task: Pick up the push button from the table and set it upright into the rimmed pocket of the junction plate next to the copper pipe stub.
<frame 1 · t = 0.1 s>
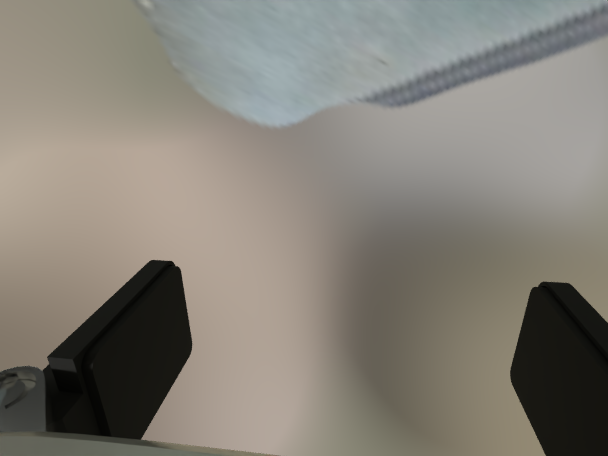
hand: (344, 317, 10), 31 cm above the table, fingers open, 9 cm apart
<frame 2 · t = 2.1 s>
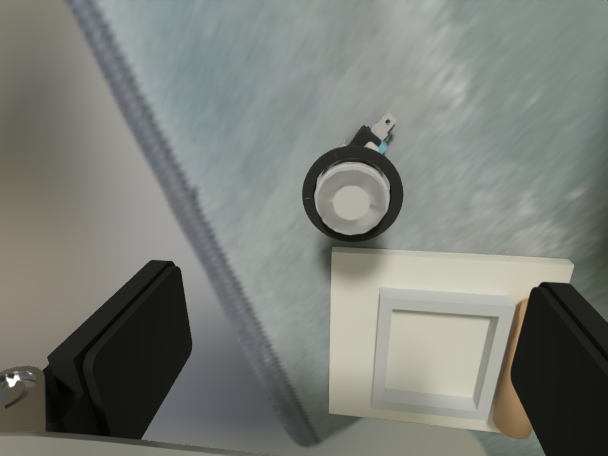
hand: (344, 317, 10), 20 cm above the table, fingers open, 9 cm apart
push button: (361, 150, 28), on the table
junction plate: (431, 342, 34), on the table
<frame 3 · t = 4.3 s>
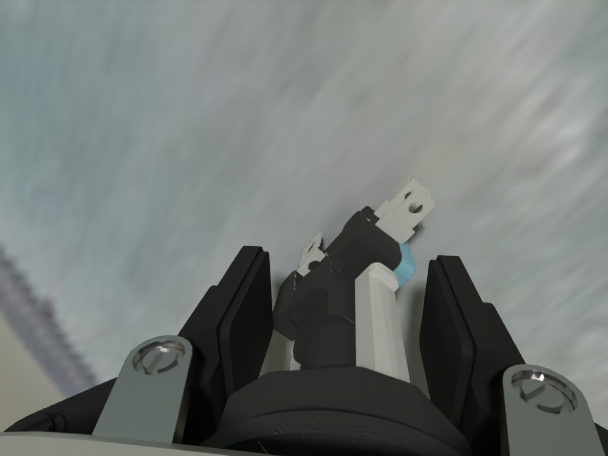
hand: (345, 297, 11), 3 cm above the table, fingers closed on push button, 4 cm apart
push button: (355, 247, 14), on the table, touching gripper
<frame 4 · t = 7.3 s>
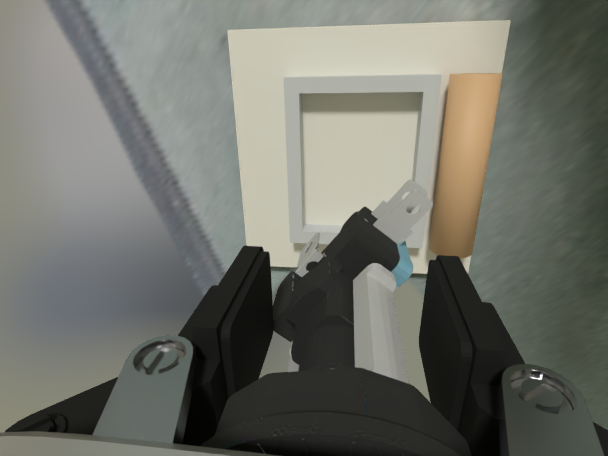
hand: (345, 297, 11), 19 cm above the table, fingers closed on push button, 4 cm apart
push button: (353, 247, 14), point 16 cm above the table, touching gripper
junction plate: (357, 159, 29), on the table
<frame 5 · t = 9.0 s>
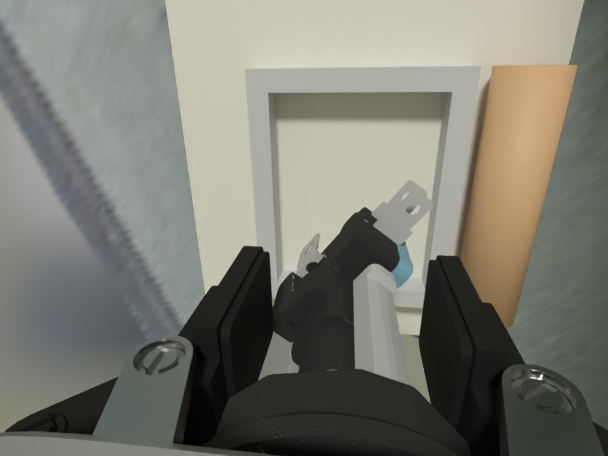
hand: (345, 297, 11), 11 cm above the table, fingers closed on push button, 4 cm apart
push button: (353, 248, 14), point 8 cm above the table, touching gripper
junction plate: (354, 185, 21), on the table
when the fingers open (5 cm above the table, at t = 10.5 s): push button stays where it is, resting on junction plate.
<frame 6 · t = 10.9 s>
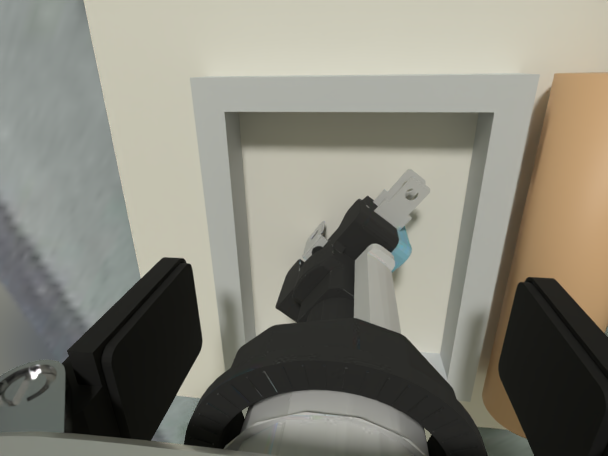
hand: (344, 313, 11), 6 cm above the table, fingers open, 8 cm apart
push button: (356, 236, 15), point 1 cm above the table, touching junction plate
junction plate: (349, 231, 16), on the table
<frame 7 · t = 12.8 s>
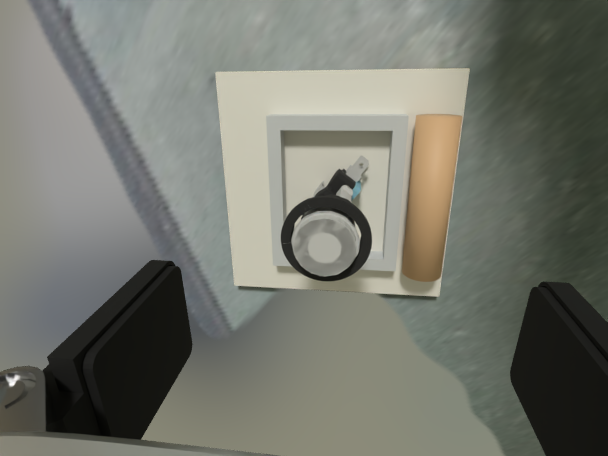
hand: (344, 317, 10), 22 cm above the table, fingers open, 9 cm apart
push button: (339, 189, 31), point 1 cm above the table, touching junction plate
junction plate: (335, 189, 31), on the table
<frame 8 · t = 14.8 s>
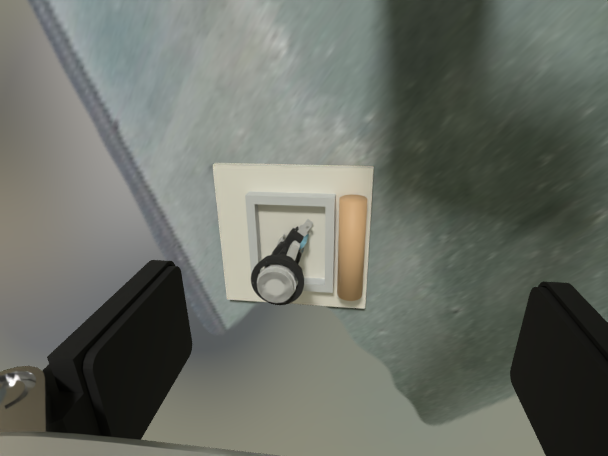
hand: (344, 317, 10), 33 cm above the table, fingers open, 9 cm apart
push button: (295, 238, 46), point 1 cm above the table, touching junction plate
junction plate: (294, 237, 47), on the table
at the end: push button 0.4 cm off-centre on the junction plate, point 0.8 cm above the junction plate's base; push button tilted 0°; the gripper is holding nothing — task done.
